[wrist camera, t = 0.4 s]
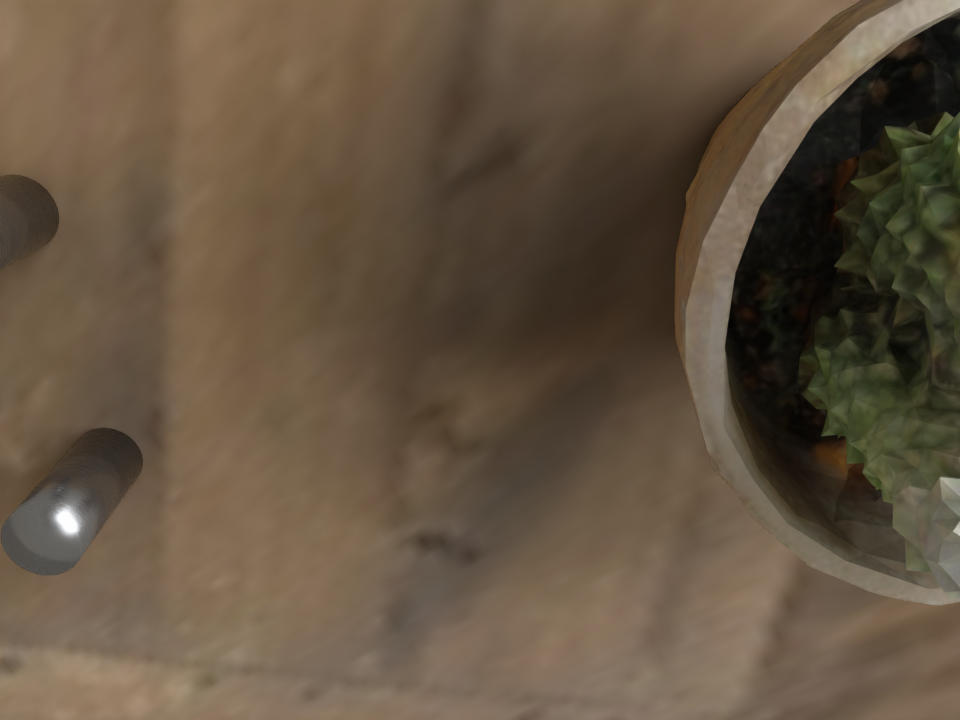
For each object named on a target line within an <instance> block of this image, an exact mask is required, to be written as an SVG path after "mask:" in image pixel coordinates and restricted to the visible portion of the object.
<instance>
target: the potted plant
mask: <svg viewBox="0 0 960 720" xmlns="http://www.w3.org/2000/svg"><path fill="white" fill-rule="evenodd" d="M674 314H675V337H676V342H677V346H678V349H679V353H680V357H681V360H682V364H683V368H684V372H685V375H686V379H687V382H688V386H689V389H690V393H691V397H692V400H693V404H694V407H695V411H696V414H697V417H698V420H699V423H700V426H701V429H702V433H703V437H704V441H705V444H706V448H707V452H708V453H709V454H710V457H711V461H712V466H713V470H714V471H715V472H716V473H717V474H718V475H719V476H720V477H721V478H722V479H723V480H724V481H725V482H726V483H727V484H728V485H729V486H730V487H731V488H732V489H733V490H734V491H735V492H736V493H737V495H738V497H739V498H740V500H741V501H742V503H743V505H744V506H745V508H746V510H747V511H748V513H749V514H750V516H751V517H752V518H753V519H754V520H755V521H756V522H758V523H759V524H760V525H761V526H762V527H763V528H765V529H766V530H767V531H768V532H769V533H771V534H772V535H773V536H774V537H775V538H776V539H778V540H779V541H780V542H781V543H782V544H784V545H785V546H786V547H787V548H788V549H789V550H791V551H792V552H793V553H794V554H795V555H797V556H798V557H799V558H800V559H801V560H802V561H804V562H805V563H806V564H807V565H808V566H810V567H812V568H815V569H817V570H819V571H822V572H824V573H827V574H829V575H832V576H834V577H836V578H839V579H841V580H844V581H846V582H848V583H851V584H853V585H856V586H858V587H861V588H863V589H865V591H868V592H872V593H876V594H880V595H884V596H887V597H891V598H895V599H899V600H905V601H911V602H918V603H924V604H931V605H937V606H938V605H944V604H950V603H957V602H960V0H861V1H859V2H858V3H856V4H854V5H853V6H851V7H849V8H847V9H846V10H844V11H842V12H841V13H839V14H837V15H836V16H834V17H833V18H832V19H830V20H829V21H828V22H827V23H826V24H825V25H824V26H823V27H821V28H820V29H819V30H818V31H817V32H816V33H815V34H813V35H812V36H811V37H810V38H809V39H808V40H807V41H805V42H804V43H803V44H802V45H801V46H800V47H799V48H798V49H796V50H795V51H794V52H793V53H792V54H791V55H790V56H789V57H787V58H786V59H785V60H784V61H782V62H781V63H780V64H779V65H777V66H776V67H775V68H774V69H772V70H771V71H770V72H769V73H767V74H766V75H765V76H764V77H763V78H762V79H761V80H760V81H759V82H758V83H757V84H755V85H754V86H753V87H752V88H751V89H750V91H749V92H748V93H747V94H746V95H745V96H744V97H743V98H742V99H741V100H740V101H739V103H738V104H737V105H736V106H735V107H734V108H733V109H732V110H731V111H730V112H729V114H728V115H727V116H726V117H725V118H724V120H723V121H722V122H721V123H720V125H719V126H718V127H717V128H716V130H715V132H714V134H713V136H712V138H711V140H710V142H709V145H708V147H707V149H706V151H705V153H704V155H703V157H702V159H701V161H700V164H699V166H698V172H697V174H696V176H695V178H694V180H693V182H692V184H691V186H690V188H689V189H688V191H687V193H686V211H685V215H684V219H683V224H682V228H681V233H680V237H679V241H678V246H677V250H676V270H675V311H674Z"/></svg>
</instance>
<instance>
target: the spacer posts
mask: <svg viewBox="0 0 960 720" xmlns="http://www.w3.org/2000/svg"><path fill="white" fill-rule="evenodd" d="M58 224H59V214H58V209H57V206H56V204H55V202H54V200H53V198H52V197H51V195H50V194H49V193H48V191H47V190H46V189H45V188H44V187H43V186H41V185H40V184H39V183H37V182H36V181H34V180H32V179H30V178H27V177H24V176H20V175H7V176H3V177H0V270H2V269H3V268H5V267H7V266H9V265H10V264H12V263H14V262H16V261H17V260H19V259H21V258H23V257H24V256H26V255H28V254H30V253H31V252H33V251H35V250H37V249H38V248H40V247H42V246H44V245H45V244H47V243H48V242H49V241H50V240H51V239H52V238H53V237H54V235H55V234H56V232H57V229H58ZM142 466H143V458H142V454H141V452H140V450H139V448H138V446H137V445H136V443H135V442H134V441H133V440H132V439H131V438H130V437H128V436H127V435H125V434H123V433H122V432H119V431H117V430H113V429H107V428H100V429H94V430H91V431H89V432H87V433H86V434H84V435H83V436H82V437H81V438H80V439H79V440H78V441H77V442H76V444H75V445H74V446H73V447H72V448H71V449H70V450H69V451H68V452H67V453H66V455H65V456H64V457H63V458H62V459H61V460H60V461H59V462H58V463H57V465H56V466H55V467H54V468H53V469H52V470H51V471H50V472H49V473H48V475H47V476H46V477H45V478H44V479H43V480H42V481H41V482H40V483H39V484H38V486H37V487H36V488H35V489H34V490H33V491H32V492H31V493H30V494H29V496H28V497H27V498H26V499H25V500H24V501H23V502H22V503H21V504H20V506H19V507H18V508H17V509H16V510H15V511H14V512H13V513H12V514H11V515H10V517H9V518H8V519H7V520H6V521H5V523H4V525H3V527H2V530H1V542H2V545H3V548H4V550H5V552H6V553H7V555H8V556H9V557H10V559H11V560H12V561H13V562H15V563H16V564H17V565H18V566H20V567H22V568H23V569H25V570H27V571H30V572H32V573H36V574H40V575H57V574H61V573H64V572H66V571H68V570H70V569H71V568H72V567H74V565H75V564H76V563H77V562H78V560H79V559H80V558H81V556H82V555H83V553H84V552H85V551H86V549H87V548H88V546H89V545H90V544H91V542H92V541H93V539H94V538H95V536H96V535H97V534H98V532H99V531H100V529H101V528H102V527H103V525H104V524H105V522H106V521H107V520H108V518H109V517H110V515H111V514H112V513H113V511H114V510H115V508H116V507H117V505H118V504H119V503H120V501H121V500H122V498H123V497H124V496H125V494H126V493H127V491H128V490H129V489H130V487H131V486H132V484H133V483H134V482H135V480H136V479H137V477H138V476H139V474H140V472H141V470H142Z"/></svg>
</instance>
